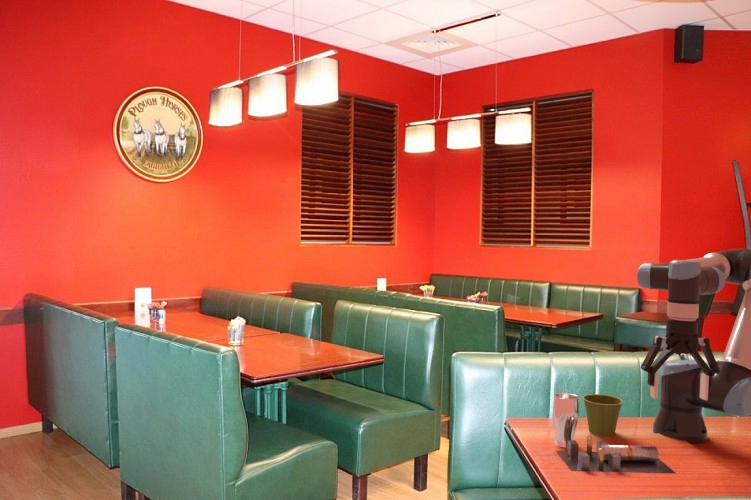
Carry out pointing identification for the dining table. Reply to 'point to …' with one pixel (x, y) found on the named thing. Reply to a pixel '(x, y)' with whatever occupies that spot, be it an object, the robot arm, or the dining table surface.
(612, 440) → the dining table surface
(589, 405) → the plant pot
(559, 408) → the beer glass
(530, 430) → the dining table surface
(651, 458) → the tube
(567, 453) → the steam engine
